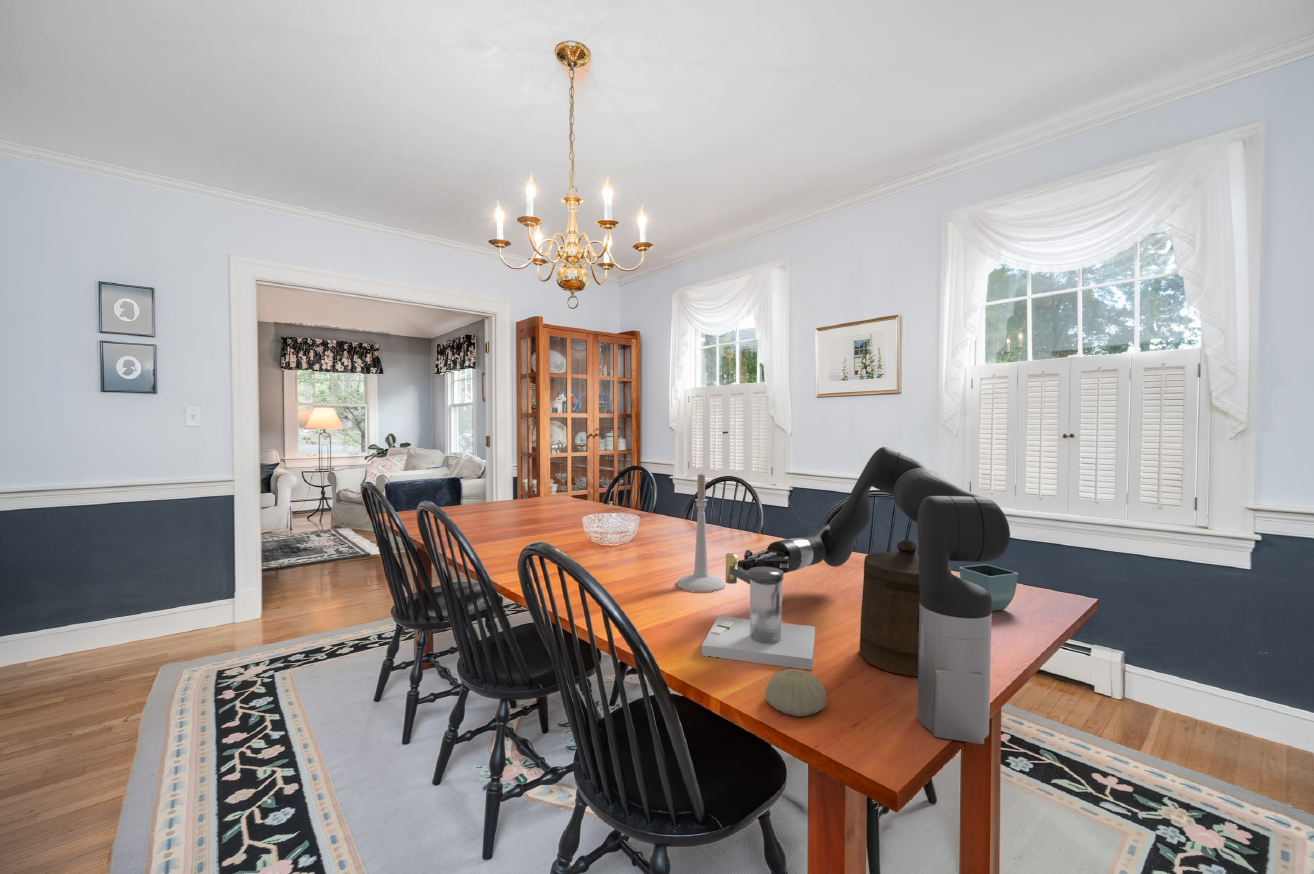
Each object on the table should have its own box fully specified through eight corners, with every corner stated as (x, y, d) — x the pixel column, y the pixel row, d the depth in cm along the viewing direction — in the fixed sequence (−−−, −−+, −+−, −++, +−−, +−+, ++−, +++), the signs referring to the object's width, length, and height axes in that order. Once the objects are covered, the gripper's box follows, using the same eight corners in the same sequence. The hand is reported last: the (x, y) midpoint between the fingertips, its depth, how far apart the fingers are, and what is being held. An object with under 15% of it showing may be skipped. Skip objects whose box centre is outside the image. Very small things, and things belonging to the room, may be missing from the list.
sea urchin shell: (750, 695, 86) (771, 648, 90) (770, 717, 90) (789, 671, 94) (803, 717, 80) (823, 665, 84) (822, 739, 84) (840, 689, 88)
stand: (812, 670, 99) (812, 656, 99) (701, 655, 105) (701, 642, 105) (815, 636, 114) (815, 624, 114) (718, 625, 120) (718, 614, 120)
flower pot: (957, 603, 134) (957, 566, 134) (985, 599, 137) (986, 563, 136) (988, 616, 126) (989, 576, 125) (1018, 611, 128) (1019, 573, 128)
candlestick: (700, 595, 140) (700, 476, 139) (667, 584, 150) (667, 472, 149) (735, 586, 148) (735, 473, 147) (701, 575, 158) (701, 469, 157)
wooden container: (947, 685, 93) (953, 554, 92) (854, 665, 100) (858, 543, 99) (946, 652, 106) (951, 537, 105) (864, 636, 113) (868, 529, 112)
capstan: (789, 639, 106) (790, 574, 106) (759, 644, 104) (760, 577, 103) (741, 608, 123) (742, 551, 123) (714, 612, 121) (715, 554, 121)
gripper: (768, 534, 139) (718, 544, 128) (813, 544, 129) (763, 555, 118) (768, 564, 139) (718, 576, 129) (812, 576, 129) (763, 590, 118)
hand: (740, 566), depth 123 cm, fingers closed
